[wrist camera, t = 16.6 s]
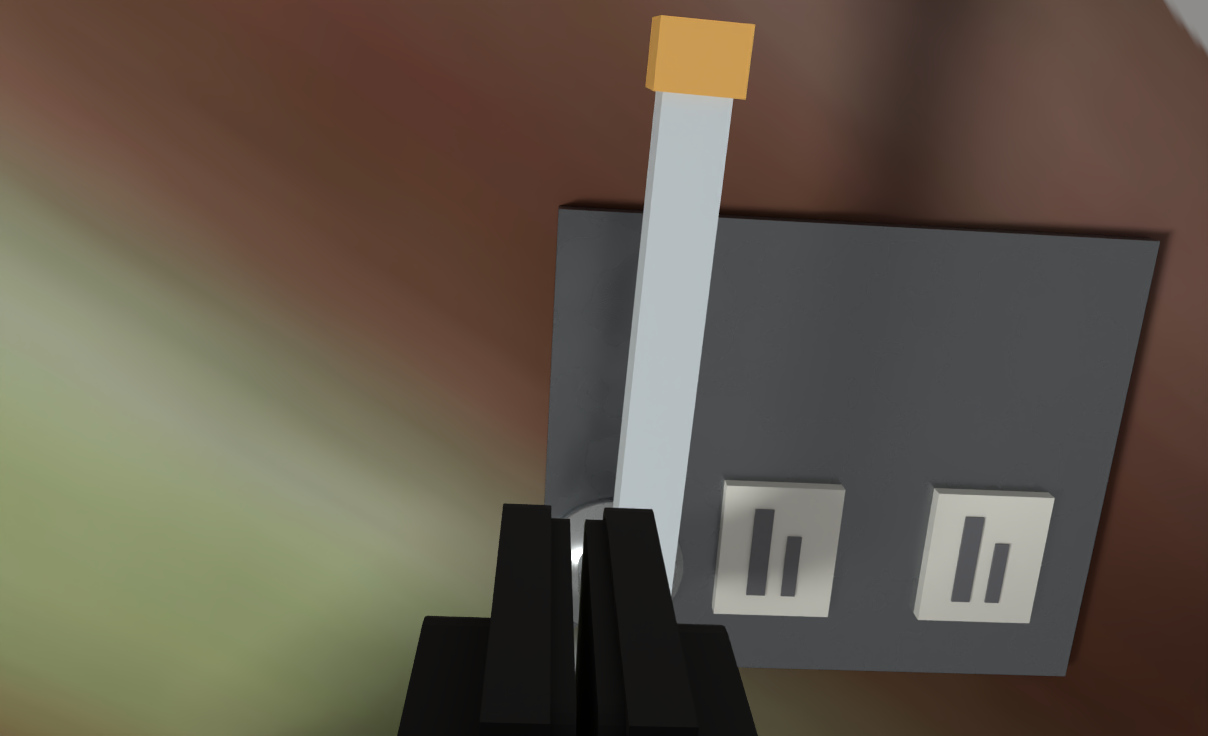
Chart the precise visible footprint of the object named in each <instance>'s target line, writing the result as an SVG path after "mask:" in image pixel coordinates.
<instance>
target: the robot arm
mask: <svg viewBox="0 0 1208 736" xmlns="http://www.w3.org/2000/svg"><path fill="white" fill-rule="evenodd" d="M397 736H758V735H757V731H756V728H755V724H754V721H753V718H752V714H751V711H750V707H749V704H748V700H747V697H746V694H745V690H744V687H743V683H742V680H741V677H740V673H739V670H738V666H737V663H736V659H735V656H734V653H733V649H732V646H731V642H730V639H729V635H728V632H727V630H726V628H725V626H723V625H713V624H680V623H677V621H676V616H675V612H674V607H673V602H672V597H671V593H670V588H669V583H668V578H667V574H666V569H665V564H664V559H663V555H662V550H661V545H660V540H659V535H658V531H657V526H656V521H655V516H654V512H653V509H637V508H610V507H605V508H604V512H603V520H589V519H585V524H584V537H583V554H582V570H581V587H580V603H579V620H578V636H577V653H576V669H575V652H574V622H573V591H572V561H571V531H570V519H561V518H551V505H528V504H503V512H502V521H501V530H500V539H499V548H498V557H497V567H496V576H495V585H494V594H493V603H492V612H491V618H480V617H447V616H426V617H425V618H424V621H423V624H422V628H421V633H420V637H419V642H418V646H417V651H416V655H415V660H414V664H413V668H412V673H411V677H410V682H409V686H408V691H407V695H406V700H405V704H404V708H403V713H402V717H401V722H400V726H399V731H398V735H397Z"/></svg>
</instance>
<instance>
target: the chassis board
mask: <svg viewBox="0 0 1208 736" xmlns="http://www.w3.org/2000/svg"><path fill="white" fill-rule="evenodd" d="M643 212H644V210H625V209H607V208H588V207H570V206H559V212H558V233H557V254H556V275H555V295H554V316H553V337H552V358H551V379H550V399H549V420H548V441H547V462H546V483H545V503H544V505H551V518H562V517H563V516H565V515H566V514H567V513H568V512H570V511H571V510H573V509H574V508H576V507H578V506H580V505H582V504H585V503H587V502H590V501H593V500H597V499H603V498H614V492H615V482H616V472H617V463H618V453H619V443H620V434H621V424H622V414H623V405H624V395H625V386H626V376H627V366H628V357H629V347H630V337H631V328H632V318H633V308H634V299H635V289H636V279H637V270H638V260H639V251H640V241H641V231H642V222H643ZM1159 244H1160V241H1157V240H1154V239H1151V238H1144V237H1125V236H1107V235H1088V234H1070V233H1051V232H1033V231H1014V230H996V229H977V228H959V227H940V226H921V225H903V224H884V223H866V222H847V221H829V220H810V219H792V218H773V217H755V216H736V215H719V216H718V224H717V232H716V240H715V248H714V256H713V264H712V272H711V280H710V288H709V296H708V304H707V312H706V320H705V328H704V336H703V344H702V352H701V360H700V368H699V376H698V384H697V392H696V400H695V408H694V416H693V424H692V432H691V440H690V448H689V456H688V464H687V472H686V481H685V489H684V497H683V505H682V513H681V521H680V529H679V537H678V540H679V544H680V548H681V552H682V557H683V575H682V580H681V583H680V586H679V589H678V591H677V593H676V595H675V596H674V598H673V600H672V602H673V607H674V612H675V616H676V621H677V623H680V624H713V625H723V626H725V628H726V630H727V632H728V635H729V639H730V642H731V646H732V649H733V653H734V656H735V659H736V663H737V666H738V667H749V668H785V669H822V670H858V671H894V672H930V673H966V674H1003V675H1039V676H1065V675H1066V670H1067V666H1068V661H1069V657H1070V652H1071V647H1072V643H1073V638H1074V634H1075V629H1076V624H1077V620H1078V615H1079V611H1080V606H1081V602H1082V597H1083V592H1084V588H1085V583H1086V579H1087V574H1088V570H1089V565H1090V560H1091V556H1092V551H1093V547H1094V542H1095V537H1096V533H1097V528H1098V524H1099V519H1100V515H1101V510H1102V505H1103V501H1104V496H1105V492H1106V487H1107V482H1108V478H1109V473H1110V469H1111V464H1112V460H1113V455H1114V450H1115V446H1116V441H1117V437H1118V432H1119V428H1120V423H1121V418H1122V414H1123V409H1124V405H1125V400H1126V395H1127V391H1128V386H1129V382H1130V377H1131V373H1132V368H1133V363H1134V359H1135V354H1136V350H1137V345H1138V341H1139V336H1140V331H1141V327H1142V322H1143V318H1144V313H1145V308H1146V304H1147V299H1148V295H1149V290H1150V286H1151V281H1152V276H1153V272H1154V267H1155V263H1156V258H1157V254H1158V249H1159ZM725 480H740V481H766V482H792V483H818V484H842V486H843V487H844V489H845V497H844V504H843V511H842V519H841V526H840V533H839V540H838V547H837V555H836V562H835V569H834V576H833V583H832V590H831V598H830V605H829V612H828V617H806V616H773V615H741V614H714V613H713V609H712V599H713V590H714V580H715V570H716V560H717V551H718V541H719V531H720V521H721V511H722V502H723V492H724V482H725ZM934 488H948V489H974V490H1000V491H1026V492H1049V493H1050V494H1051V495H1052V496H1053V497H1054V498H1055V499H1054V504H1053V509H1052V514H1051V519H1050V524H1049V529H1048V534H1047V538H1046V543H1045V548H1044V553H1043V558H1042V563H1041V568H1040V573H1039V578H1038V583H1037V588H1036V593H1035V597H1034V602H1033V607H1032V612H1031V617H1030V622H1029V623H1001V622H968V621H936V620H918V619H917V618H916V616H915V615H914V613H913V612H914V606H915V600H916V594H917V588H918V582H919V576H920V570H921V564H922V558H923V552H924V546H925V540H926V534H927V528H928V522H929V516H930V510H931V504H932V498H933V492H934ZM573 622H574V621H573ZM577 625H578V623H576V622H574V628H575V627H576V626H577Z"/></svg>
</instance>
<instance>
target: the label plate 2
mask: <svg viewBox="0 0 1208 736" xmlns="http://www.w3.org/2000/svg"><path fill="white" fill-rule="evenodd" d="M1054 499H1055V498H1054V497H1053V496H1052V495H1051V494H1050V493H1049V492H1026V491H1000V490H974V489H948V488H934V492H933V498H932V504H931V510H930V516H929V522H928V528H927V534H926V540H925V546H924V552H923V558H922V564H921V570H920V576H919V582H918V588H917V594H916V600H915V606H914V612H913V613H914V615H915V616H916V618H917V619H918V620H936V621H968V622H1001V623H1029V622H1030V617H1031V612H1032V607H1033V602H1034V597H1035V593H1036V588H1037V583H1038V578H1039V573H1040V568H1041V563H1042V558H1043V553H1044V548H1045V543H1046V538H1047V534H1048V529H1049V524H1050V519H1051V514H1052V509H1053V504H1054Z"/></svg>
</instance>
